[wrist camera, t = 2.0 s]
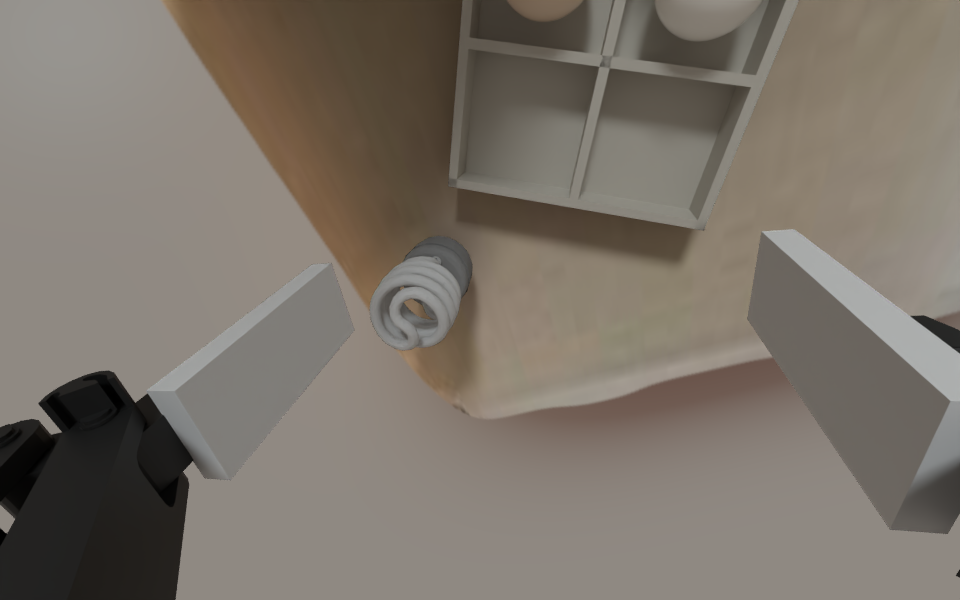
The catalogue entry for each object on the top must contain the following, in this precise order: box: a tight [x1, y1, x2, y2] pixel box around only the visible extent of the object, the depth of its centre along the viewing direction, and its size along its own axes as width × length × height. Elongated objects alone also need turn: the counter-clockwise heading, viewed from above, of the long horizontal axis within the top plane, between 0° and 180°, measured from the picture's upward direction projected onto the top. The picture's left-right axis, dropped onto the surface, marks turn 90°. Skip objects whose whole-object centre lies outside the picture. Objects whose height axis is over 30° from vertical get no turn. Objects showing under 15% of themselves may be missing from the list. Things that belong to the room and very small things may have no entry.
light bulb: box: [370, 236, 472, 351], centre depth 31 cm, size 6×6×12 cm
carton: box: [448, 0, 799, 230], centre depth 26 cm, size 18×18×3 cm
